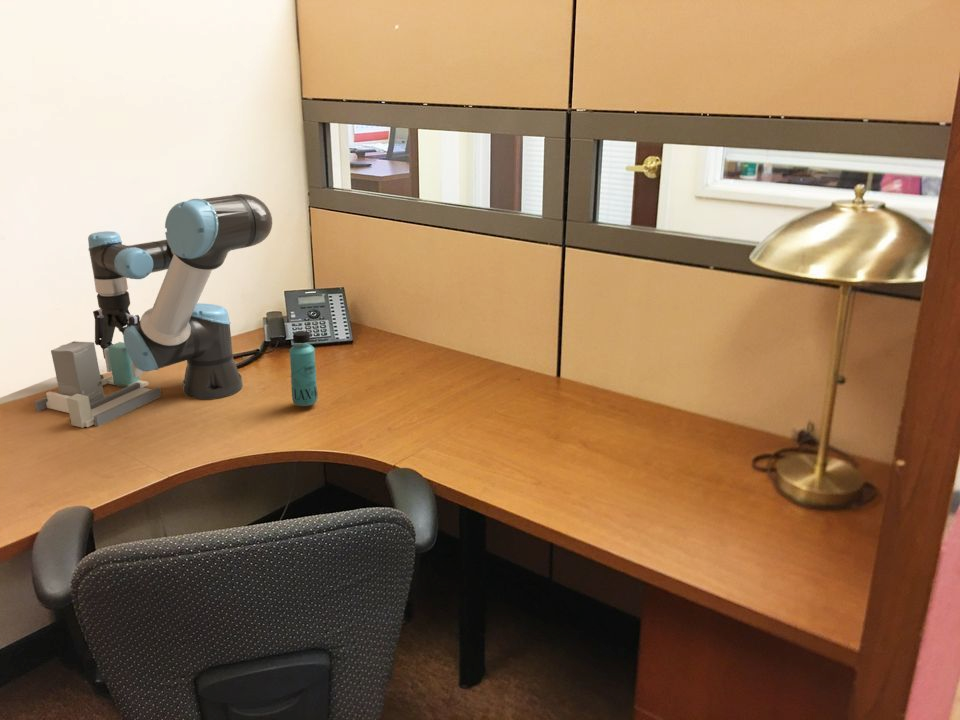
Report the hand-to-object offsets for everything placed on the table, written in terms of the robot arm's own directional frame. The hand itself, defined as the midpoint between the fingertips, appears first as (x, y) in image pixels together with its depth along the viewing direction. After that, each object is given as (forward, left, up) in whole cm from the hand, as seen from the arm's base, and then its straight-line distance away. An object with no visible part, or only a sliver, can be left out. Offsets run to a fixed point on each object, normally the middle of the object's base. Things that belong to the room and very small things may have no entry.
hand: (125, 373), depth 204 cm
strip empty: (-10, +13, -3) cm, 17 cm away
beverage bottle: (-52, -9, -4) cm, 52 cm away
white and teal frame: (0, +9, -3) cm, 10 cm away
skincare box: (0, +14, -4) cm, 14 cm away
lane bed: (-4, +12, -3) cm, 13 cm away
